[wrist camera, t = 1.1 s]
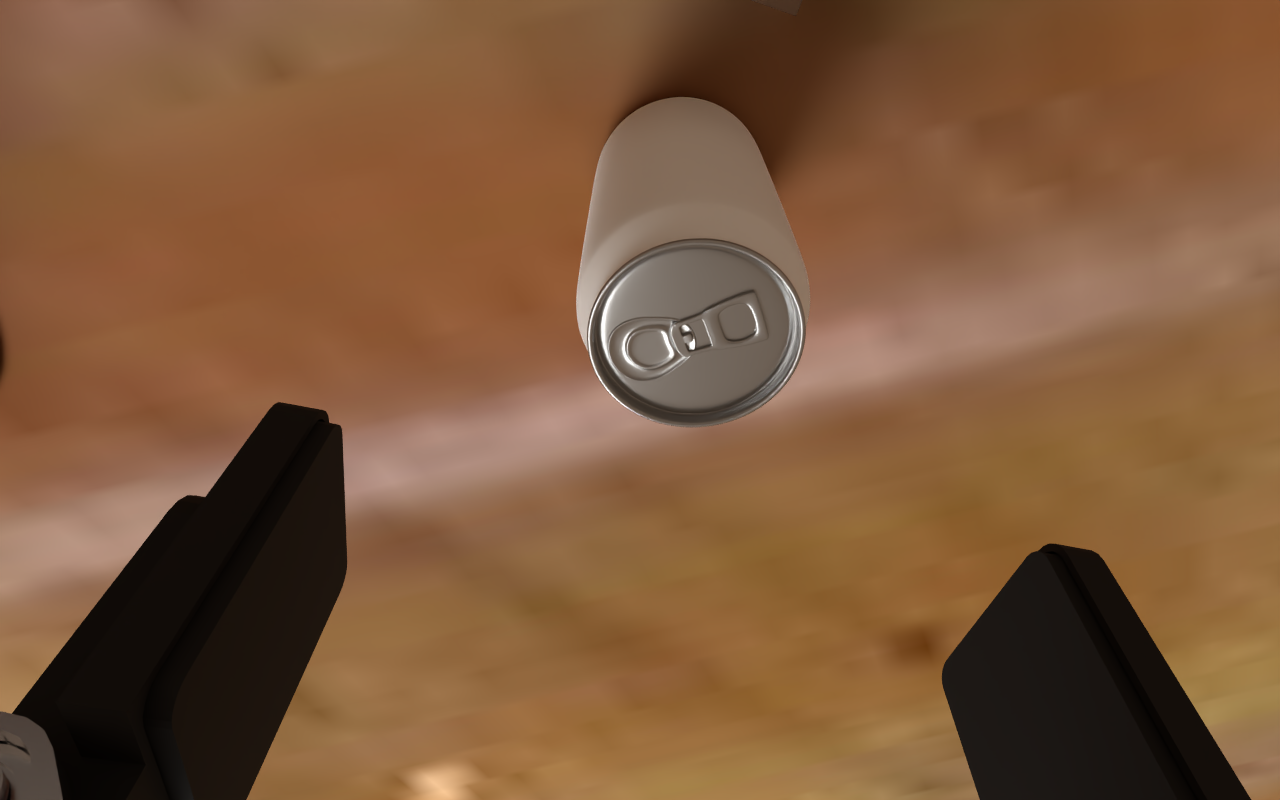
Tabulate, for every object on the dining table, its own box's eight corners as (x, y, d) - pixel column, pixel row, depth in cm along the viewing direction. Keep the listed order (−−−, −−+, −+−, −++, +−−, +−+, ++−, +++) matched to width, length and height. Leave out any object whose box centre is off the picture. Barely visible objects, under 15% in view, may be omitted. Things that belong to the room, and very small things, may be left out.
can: (569, 130, 28) (527, 273, 18) (736, 65, 26) (790, 183, 16) (630, 277, 31) (623, 464, 21) (780, 227, 30) (846, 402, 20)
